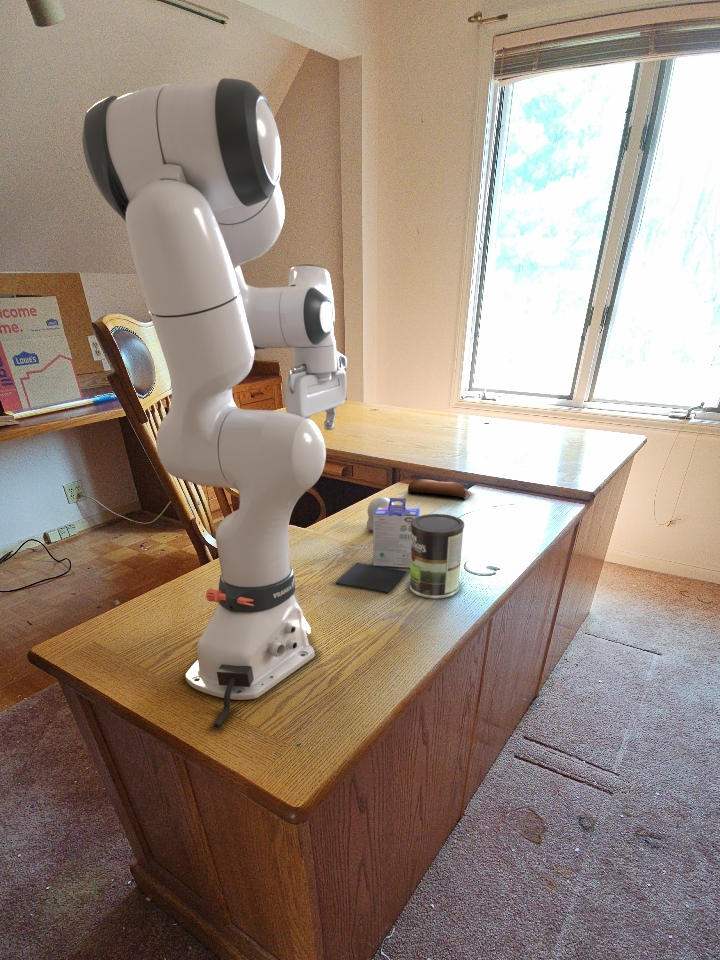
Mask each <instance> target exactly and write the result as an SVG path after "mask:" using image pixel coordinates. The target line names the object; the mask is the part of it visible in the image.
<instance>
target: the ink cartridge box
mask: <svg viewBox="0 0 720 960" xmlns="http://www.w3.org/2000/svg"><path fill="white" fill-rule="evenodd" d="M389 499H390V501H389V506H388V508H379V507H378V508H377V509H376V511H375V512H374V514H373V530H372V556H373V557H372V558H373V560H372V565H374V566H380V567H390V568H408V569H411V532H412V527H411V521H412V520H413V519H415V518H416V517H419V516H421V509H420V508H418V507H415V508H413V507H412V508H411V507H406V505H407V504H406V503H407V502H406V500H407V499H406V498H405V497H404V498H403V497H402V498H399V497H389ZM392 502H393V503H396V502H399V503H400V505H399V504H394V505H392V504H391V503H392ZM402 504H403V505H402Z"/></svg>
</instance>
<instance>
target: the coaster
mask: <svg viewBox="0 0 720 960" xmlns="http://www.w3.org/2000/svg"><path fill="white" fill-rule="evenodd" d="M407 573H408V571H407V570H406V569H405V570H404V569H398V568H393V567H387V566H374V565H373V564H367V563H361V562H356V563H355V564H354V565H353V566H352V567H351V568H350V569H349V570H347V571H346V572H345V573H344V574H343V575H341V577H340V578H338V579H337V580H336V581H335V585H340V586H346V587H351V588H355V589H362V590H368V591H372V592H379V593H382V594H383V593H384V594H389V593H390V591H391V590H393V588H394V587H395V586H396V585H397V584H398V583H399V582H400V580H401V579H402V578H404V576H405V575H406V574H407Z"/></svg>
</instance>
